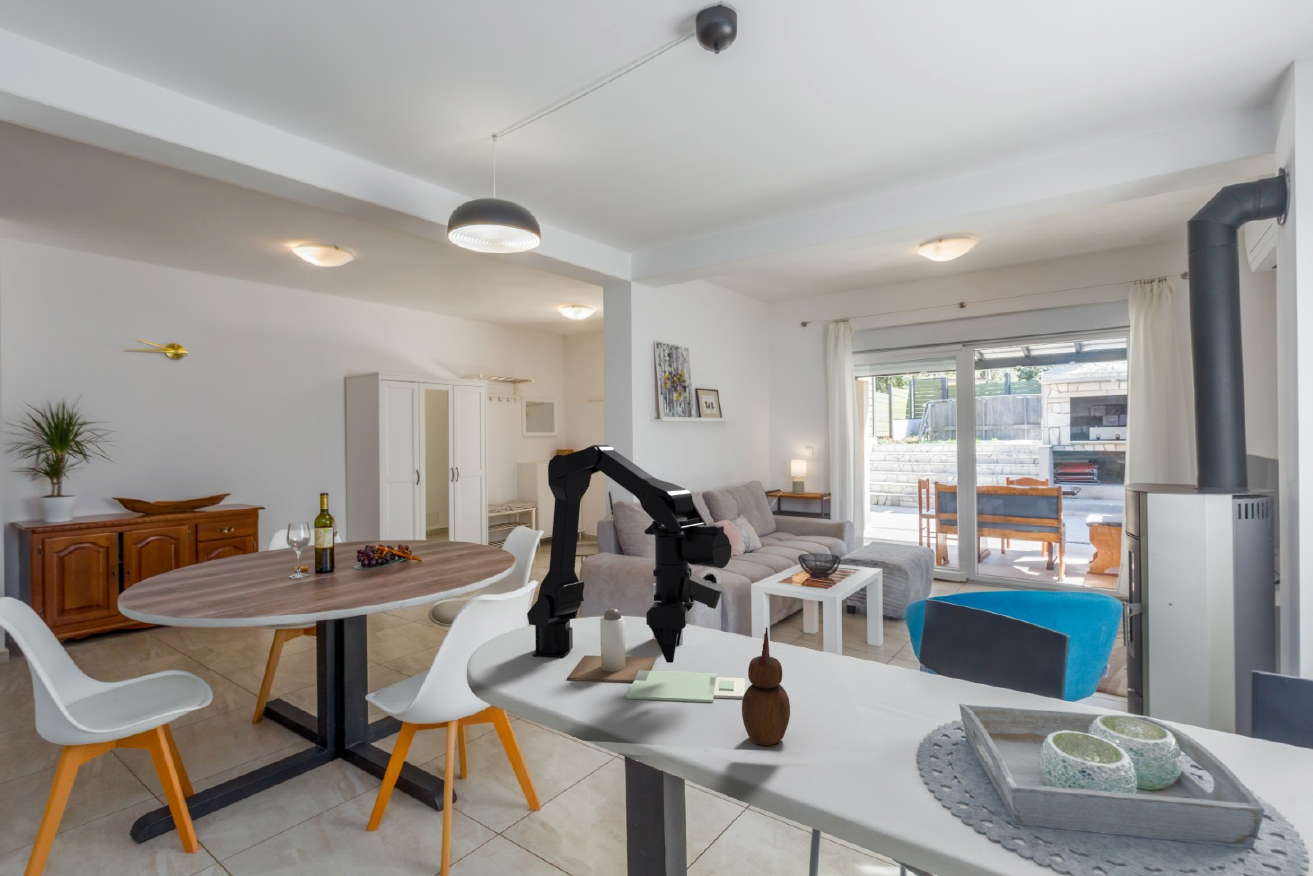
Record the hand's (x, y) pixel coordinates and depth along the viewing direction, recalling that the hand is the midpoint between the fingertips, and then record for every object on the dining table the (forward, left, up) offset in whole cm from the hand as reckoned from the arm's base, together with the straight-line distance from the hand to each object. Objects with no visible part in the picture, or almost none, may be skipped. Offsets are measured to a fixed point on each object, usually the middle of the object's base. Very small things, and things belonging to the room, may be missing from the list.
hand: (673, 653), depth 108 cm
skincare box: (-4, +24, -6) cm, 25 cm away
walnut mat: (-12, +7, -6) cm, 15 cm away
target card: (+9, 0, -6) cm, 11 cm away
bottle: (-12, +7, -5) cm, 15 cm away
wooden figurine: (+15, -18, -6) cm, 24 cm away
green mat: (0, 0, -6) cm, 6 cm away
